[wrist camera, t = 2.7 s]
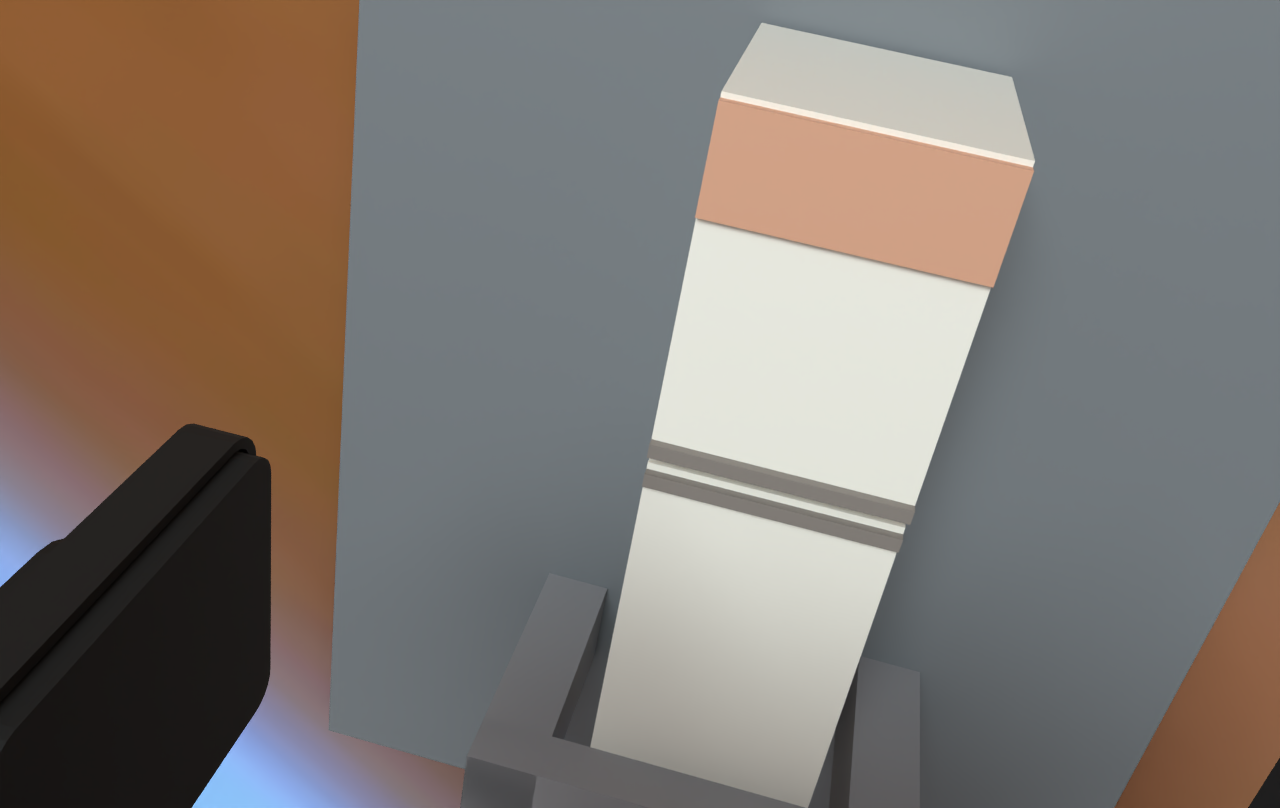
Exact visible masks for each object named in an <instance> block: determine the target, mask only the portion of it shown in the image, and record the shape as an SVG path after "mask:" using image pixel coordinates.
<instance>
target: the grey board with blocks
mask: <svg viewBox="0 0 1280 808" xmlns="http://www.w3.org/2000/svg"><path fill="white" fill-rule="evenodd" d="M761 23H766V24H770V25H775V26H779V27H784V28H789V29H793V30H798V31H802V32H807V33H812V34H816V35H821V36H825V37H830V38H835V39H839V40H844V41H848V42H853V43H858V44H862V45H867V46H871V47H876V48H881V49H885V50H890V51H894V52H899V53H904V54H908V55H913V56H917V57H922V58H927V59H931V60H936V61H940V62H945V63H950V64H954V65H959V66H963V67H968V68H973V69H977V70H982V71H986V72H991V73H996V74H1000V75H1005V76H1009V77H1012V79H1013V82H1014V86H1015V90H1016V93H1017V97H1018V100H1019V104H1020V108H1021V111H1022V115H1023V119H1024V122H1025V126H1026V130H1027V133H1028V137H1029V141H1030V144H1031V148H1032V152H1033V155H1034V159H1035V163H1034V166H1033V169H1034V173H1033V176H1032V179H1031V181H1030V184H1029V187H1028V190H1027V193H1026V196H1025V199H1024V201H1023V204H1022V207H1021V210H1020V213H1019V216H1018V219H1017V221H1016V224H1015V227H1014V230H1013V233H1012V236H1011V239H1010V241H1009V244H1008V247H1007V250H1006V253H1005V256H1004V259H1003V261H1002V264H1001V267H1000V270H999V273H998V276H997V279H996V282H995V284H994V287H993V288H992V287H991V289H990V292H989V295H988V298H987V301H986V304H985V306H984V309H983V312H982V315H981V318H980V321H979V324H978V327H977V329H976V332H975V335H974V338H973V341H972V344H971V347H970V350H969V352H968V355H967V358H966V361H965V364H964V367H963V370H962V372H961V375H960V378H959V381H958V384H957V387H956V390H955V393H954V395H953V398H952V401H951V404H950V407H949V410H948V413H947V415H946V418H945V421H944V424H943V427H942V430H941V433H940V436H939V438H938V441H937V444H936V447H935V450H934V453H933V456H932V459H931V461H930V464H929V467H928V470H927V473H926V476H925V479H924V481H923V484H922V487H921V490H920V493H919V496H918V499H917V502H916V504H915V513H914V516H913V519H912V522H911V525H908V524H904V523H900V522H896V521H892V520H889V519H885V518H881V517H877V516H873V515H869V514H865V513H861V512H857V511H853V510H849V509H846V508H842V507H838V506H834V505H830V504H826V503H822V502H818V501H814V500H810V499H806V498H803V497H799V496H795V495H791V494H787V493H783V492H779V491H775V490H771V489H767V488H763V487H759V486H756V485H752V484H748V483H744V482H740V481H736V480H732V479H728V478H724V477H720V476H716V475H713V474H709V473H705V472H701V471H697V470H693V469H689V468H685V467H681V466H677V465H673V464H670V463H666V462H662V461H658V460H654V459H650V458H647V454H648V449H649V444H650V441H651V439H652V434H653V429H654V424H655V419H656V414H657V409H658V404H659V399H660V394H661V389H662V384H663V379H664V374H665V369H666V364H667V359H668V354H669V349H670V344H671V340H672V335H673V330H674V325H675V320H676V315H677V310H678V305H679V300H680V295H681V290H682V285H683V280H684V275H685V270H686V265H687V260H688V255H689V250H690V245H691V240H692V235H693V230H694V225H695V220H696V218H695V215H696V210H697V205H698V200H699V195H700V190H701V185H702V180H703V175H704V170H705V165H706V160H707V155H708V150H709V145H710V140H711V135H712V130H713V125H714V120H715V115H716V110H717V105H718V100H719V99H720V96H721V91H722V89H723V88H724V86H725V84H726V83H727V81H728V79H729V78H730V76H731V74H732V72H733V71H734V69H735V67H736V66H737V64H738V62H739V60H740V59H741V57H742V55H743V54H744V52H745V50H746V49H747V47H748V45H749V43H750V42H751V40H752V38H753V37H754V35H755V33H756V31H757V30H758V28H759V26H760V25H761ZM1279 502H1280V0H360V2H359V25H358V49H357V73H356V96H355V120H354V144H353V168H352V191H351V215H350V239H349V262H348V286H347V310H346V333H345V357H344V381H343V404H342V428H341V452H340V475H339V499H338V523H337V546H336V570H335V594H334V617H333V641H332V665H331V688H330V712H329V730H330V731H333V732H337V733H340V734H344V735H347V736H351V737H354V738H358V739H361V740H365V741H368V742H372V743H375V744H379V745H382V746H386V747H389V748H393V749H396V750H400V751H403V752H407V753H410V754H414V755H417V756H421V757H424V758H428V759H431V760H435V761H438V762H442V763H445V764H449V765H452V766H456V767H459V768H463V769H465V775H464V782H463V790H462V798H461V806H460V808H1114V807H1115V805H1116V803H1117V801H1118V800H1119V798H1120V796H1121V794H1122V792H1123V790H1124V789H1125V787H1126V785H1127V783H1128V781H1129V779H1130V777H1131V776H1132V774H1133V772H1134V770H1135V768H1136V766H1137V764H1138V763H1139V761H1140V759H1141V757H1142V755H1143V753H1144V752H1145V750H1146V748H1147V746H1148V744H1149V742H1150V740H1151V739H1152V737H1153V735H1154V733H1155V731H1156V729H1157V728H1158V726H1159V724H1160V722H1161V720H1162V718H1163V716H1164V715H1165V713H1166V711H1167V709H1168V707H1169V705H1170V704H1171V702H1172V700H1173V698H1174V696H1175V694H1176V692H1177V691H1178V689H1179V687H1180V685H1181V683H1182V681H1183V679H1184V678H1185V676H1186V674H1187V672H1188V670H1189V668H1190V667H1191V665H1192V663H1193V661H1194V659H1195V657H1196V655H1197V654H1198V652H1199V650H1200V648H1201V646H1202V644H1203V643H1204V641H1205V639H1206V637H1207V635H1208V633H1209V631H1210V630H1211V628H1212V626H1213V624H1214V622H1215V620H1216V619H1217V617H1218V615H1219V613H1220V611H1221V609H1222V607H1223V606H1224V604H1225V602H1226V600H1227V598H1228V596H1229V595H1230V593H1231V591H1232V589H1233V587H1234V585H1235V583H1236V582H1237V580H1238V578H1239V576H1240V574H1241V572H1242V570H1243V569H1244V567H1245V565H1246V563H1247V561H1248V559H1249V558H1250V556H1251V554H1252V552H1253V550H1254V548H1255V546H1256V545H1257V543H1258V541H1259V539H1260V537H1261V535H1262V534H1263V532H1264V530H1265V528H1266V526H1267V524H1268V522H1269V521H1270V519H1271V517H1272V515H1273V513H1274V511H1275V510H1276V508H1277V506H1278V504H1279Z"/></svg>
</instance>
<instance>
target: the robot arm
mask: <svg viewBox="0 0 1280 808" xmlns="http://www.w3.org/2000/svg"><path fill="white" fill-rule="evenodd" d="M270 634H271V467H270V464H269V461H268V460H267V459H265V458H263V457H259V456H256V449H255V446H254V444H253V441H252V440H251V439H249V438H248V437H244V436H240V435H236V434H232V433H228V432H224V431H220V430H216V429H213V428H209V427H205V426H201V425H197V424H186V425H185V426H184V427H182V428H181V429H179V430H178V431H177V432H176V433H175V434H174V435H173V436H172V437H171V438H170V439H169V440H168V441H166V442H165V443H164V444H163V445H162V446H161V447H160V448H159V449H158V450H157V451H156V452H155V453H154V454H153V455H152V456H151V457H150V458H149V459H148V460H146V461H145V462H144V463H143V464H142V465H141V466H140V467H139V468H138V469H137V470H136V471H135V472H134V473H133V474H132V475H131V476H130V477H129V478H128V479H126V480H125V481H124V482H123V483H122V484H121V485H120V486H119V487H118V488H117V489H116V490H115V491H114V492H113V493H112V494H111V495H110V496H109V497H107V498H106V499H105V500H104V501H103V502H102V503H101V504H100V505H99V506H98V507H97V508H96V509H95V510H94V511H93V512H92V513H91V514H90V515H89V516H87V517H86V518H85V519H84V520H83V521H82V522H81V523H80V524H79V525H78V526H77V527H76V528H75V529H74V530H73V531H72V532H71V533H70V534H69V535H67V536H66V537H65V538H64V539H61V540H57V541H53V542H51V543H50V544H48V545H47V546H46V547H44V548H43V549H42V550H40V551H39V552H37V553H36V554H35V555H34V556H33V557H32V558H31V559H30V560H29V561H28V562H27V563H26V564H25V565H24V566H23V567H21V568H20V569H19V570H18V571H17V572H16V573H15V574H14V575H13V576H12V577H11V578H10V579H9V580H8V581H7V582H5V583H4V584H3V585H2V586H1V587H0V808H192V806H193V805H194V803H195V802H196V800H197V799H198V797H199V796H200V794H201V793H202V791H203V790H204V788H205V787H206V785H207V784H208V782H209V781H210V779H211V778H212V776H213V775H214V773H215V772H216V770H217V769H218V767H219V766H220V764H221V763H222V761H223V760H224V758H225V757H226V755H227V754H228V752H229V751H230V749H231V748H232V746H233V745H234V744H235V742H236V741H237V739H238V738H239V736H240V735H241V733H242V732H243V730H244V729H245V727H246V726H247V724H248V723H249V721H250V720H251V718H252V717H253V715H254V714H255V712H256V711H257V709H258V707H259V705H260V704H261V701H262V699H263V697H264V695H265V692H266V688H267V685H268V681H269V677H270ZM1248 808H1280V758H1279V760H1278V761H1277V763H1276V765H1275V766H1274V768H1273V769H1272V771H1271V772H1270V774H1269V776H1268V777H1267V779H1266V780H1265V782H1264V784H1263V785H1262V787H1261V788H1260V790H1259V791H1258V793H1257V795H1256V796H1255V798H1254V799H1253V801H1252V803H1251V804H1250V806H1249V807H1248Z"/></svg>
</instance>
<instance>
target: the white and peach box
mask: <svg viewBox="0 0 1280 808" xmlns="http://www.w3.org/2000/svg"><path fill="white" fill-rule="evenodd" d="M1034 163H1035V159H1034V155H1033V152H1032V148H1031V144H1030V141H1029V137H1028V133H1027V130H1026V126H1025V122H1024V119H1023V115H1022V111H1021V108H1020V104H1019V100H1018V97H1017V93H1016V90H1015V86H1014V82H1013V79H1012V77H1009V76H1005V75H1000V74H996V73H991V72H986V71H982V70H977V69H973V68H968V67H963V66H959V65H954V64H950V63H945V62H940V61H936V60H931V59H927V58H922V57H917V56H913V55H908V54H904V53H899V52H894V51H890V50H885V49H881V48H876V47H871V46H867V45H862V44H858V43H853V42H848V41H844V40H839V39H835V38H830V37H825V36H821V35H816V34H812V33H807V32H802V31H798V30H793V29H789V28H784V27H779V26H775V25H770V24H766V23H761V25H760V26H759V28H758V30H757V31H756V33H755V35H754V37H753V38H752V40H751V42H750V43H749V45H748V47H747V49H746V50H745V52H744V54H743V55H742V57H741V59H740V60H739V62H738V64H737V66H736V67H735V69H734V71H733V72H732V74H731V76H730V78H729V79H728V81H727V83H726V84H725V86H724V88H723V89H722V91H721V96H720V99H719V100H718V105H717V110H716V115H715V120H714V125H713V130H712V135H711V140H710V145H709V150H708V155H707V160H706V165H705V170H704V175H703V180H702V185H701V190H700V195H699V200H698V205H697V210H696V215H695V218H696V220H695V225H694V230H693V235H692V240H691V245H690V250H689V255H688V260H687V265H686V270H685V275H684V280H683V285H682V290H681V295H680V300H679V305H678V310H677V315H676V320H675V325H674V330H673V335H672V340H671V344H670V349H669V354H668V359H667V364H666V369H665V374H664V379H663V384H662V389H661V394H660V399H659V404H658V409H657V414H656V419H655V424H654V429H653V434H652V439H651V441H650V444H649V449H648V454H647V458H650V459H654V460H658V461H662V462H666V463H670V464H673V465H677V466H681V467H685V468H689V469H693V470H697V471H701V472H705V473H709V474H713V475H716V476H720V477H724V478H728V479H732V480H736V481H740V482H744V483H748V484H752V485H756V486H759V487H763V488H767V489H771V490H775V491H779V492H783V493H787V494H791V495H795V496H799V497H803V498H806V499H810V500H814V501H818V502H822V503H826V504H830V505H834V506H838V507H842V508H846V509H849V510H853V511H857V512H861V513H865V514H869V515H873V516H877V517H881V518H885V519H889V520H892V521H896V522H900V523H904V524H908V525H911V522H912V519H913V516H914V513H915V504H916V502H917V499H918V496H919V493H920V490H921V487H922V484H923V481H924V479H925V476H926V473H927V470H928V467H929V464H930V461H931V459H932V456H933V453H934V450H935V447H936V444H937V441H938V438H939V436H940V433H941V430H942V427H943V424H944V421H945V418H946V415H947V413H948V410H949V407H950V404H951V401H952V398H953V395H954V393H955V390H956V387H957V384H958V381H959V378H960V375H961V372H962V370H963V367H964V364H965V361H966V358H967V355H968V352H969V350H970V347H971V344H972V341H973V338H974V335H975V332H976V329H977V327H978V324H979V321H980V318H981V315H982V312H983V309H984V306H985V304H986V301H987V298H988V295H989V292H990V289H991V287H992V288H993V287H994V284H995V282H996V279H997V276H998V273H999V270H1000V267H1001V264H1002V261H1003V259H1004V256H1005V253H1006V250H1007V247H1008V244H1009V241H1010V239H1011V236H1012V233H1013V230H1014V227H1015V224H1016V221H1017V219H1018V216H1019V213H1020V210H1021V207H1022V204H1023V201H1024V199H1025V196H1026V193H1027V190H1028V187H1029V184H1030V181H1031V179H1032V176H1033V173H1034V169H1033V166H1034Z"/></svg>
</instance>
